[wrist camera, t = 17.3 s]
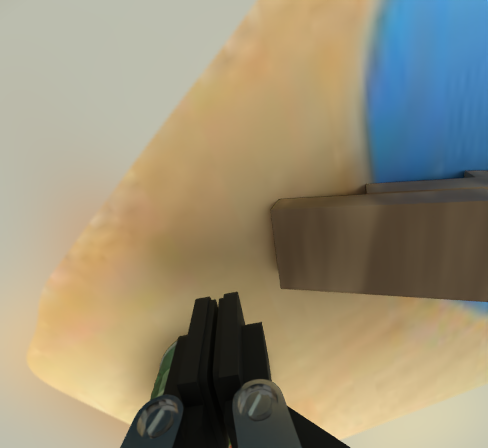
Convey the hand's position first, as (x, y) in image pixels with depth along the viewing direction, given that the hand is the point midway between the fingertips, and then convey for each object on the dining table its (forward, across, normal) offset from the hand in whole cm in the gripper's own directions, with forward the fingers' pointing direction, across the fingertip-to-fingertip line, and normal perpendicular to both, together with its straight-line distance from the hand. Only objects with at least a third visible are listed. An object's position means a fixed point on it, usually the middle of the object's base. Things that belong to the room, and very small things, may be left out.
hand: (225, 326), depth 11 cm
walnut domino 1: (+6, -3, 0) cm, 7 cm away
